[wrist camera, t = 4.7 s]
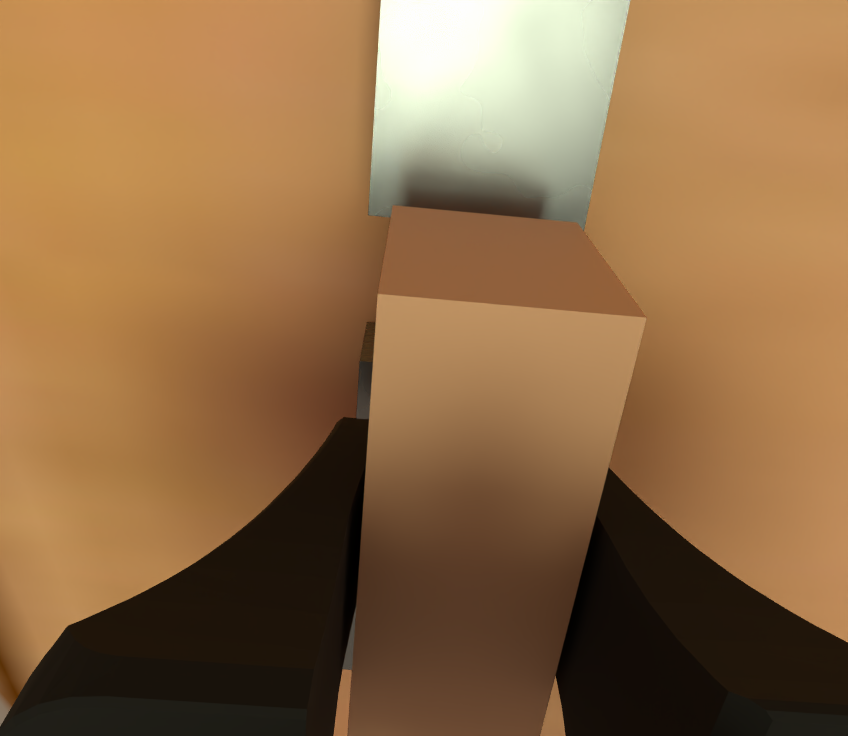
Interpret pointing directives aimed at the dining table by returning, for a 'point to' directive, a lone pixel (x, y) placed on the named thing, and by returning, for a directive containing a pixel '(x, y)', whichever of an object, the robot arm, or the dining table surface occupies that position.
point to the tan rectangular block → (482, 467)
